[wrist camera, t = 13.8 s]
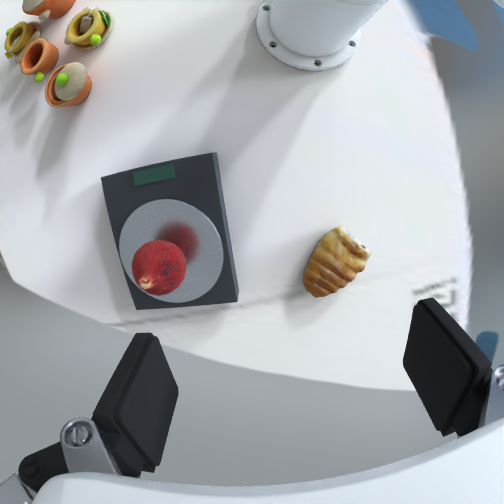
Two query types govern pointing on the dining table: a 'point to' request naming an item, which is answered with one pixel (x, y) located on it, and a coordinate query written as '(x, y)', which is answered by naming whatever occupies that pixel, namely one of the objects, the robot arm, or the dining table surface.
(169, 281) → the onion
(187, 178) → the scale
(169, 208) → the scale pan
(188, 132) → the dining table surface
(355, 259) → the pastry
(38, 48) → the toy tea set
